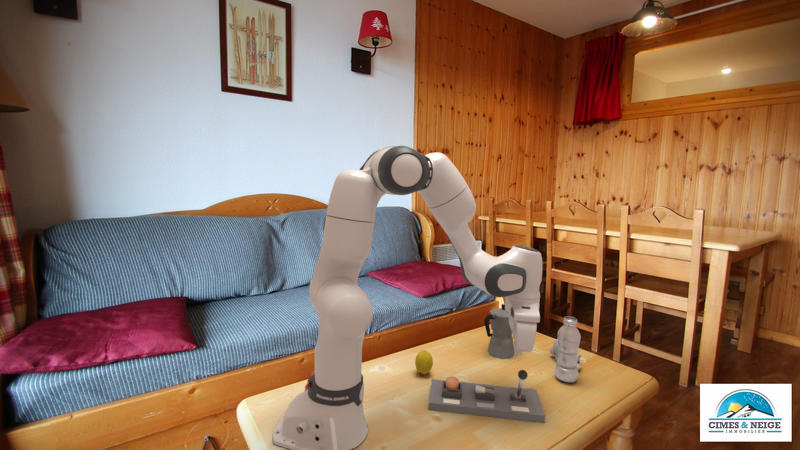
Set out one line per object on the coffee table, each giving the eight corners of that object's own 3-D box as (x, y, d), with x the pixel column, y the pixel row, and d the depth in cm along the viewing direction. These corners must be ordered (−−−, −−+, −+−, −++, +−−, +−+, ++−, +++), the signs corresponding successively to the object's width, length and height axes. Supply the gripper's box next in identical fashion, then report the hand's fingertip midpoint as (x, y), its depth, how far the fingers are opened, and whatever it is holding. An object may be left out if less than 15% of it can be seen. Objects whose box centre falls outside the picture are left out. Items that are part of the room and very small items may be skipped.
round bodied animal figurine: (565, 379, 125) (573, 361, 121) (545, 350, 135) (552, 333, 131) (584, 376, 127) (592, 358, 122) (563, 348, 137) (571, 331, 132)
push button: (445, 389, 106) (445, 382, 106) (445, 382, 110) (446, 375, 109) (458, 390, 106) (458, 384, 105) (458, 383, 109) (458, 377, 109)
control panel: (428, 409, 103) (428, 397, 103) (431, 385, 115) (432, 374, 114) (544, 422, 99) (545, 409, 98) (535, 396, 110) (536, 384, 110)
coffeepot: (503, 343, 144) (506, 297, 142) (523, 353, 136) (527, 305, 134) (473, 353, 136) (475, 304, 133) (492, 364, 128) (495, 313, 126)
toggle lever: (513, 401, 105) (519, 375, 98) (512, 393, 107) (518, 367, 100) (522, 402, 104) (528, 376, 98) (521, 394, 106) (527, 368, 99)
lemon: (431, 379, 118) (432, 355, 117) (413, 377, 119) (414, 353, 118) (433, 370, 123) (434, 347, 122) (416, 368, 124) (417, 345, 123)
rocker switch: (475, 392, 106) (476, 388, 106) (475, 388, 108) (475, 385, 108) (493, 397, 105) (494, 393, 105) (492, 392, 107) (493, 389, 107)
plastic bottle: (573, 388, 115) (578, 324, 112) (550, 379, 119) (555, 318, 117) (580, 379, 120) (585, 318, 117) (558, 372, 124) (563, 313, 121)
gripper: (505, 292, 115) (502, 336, 117) (515, 316, 95) (510, 369, 97) (527, 294, 114) (523, 338, 116) (541, 319, 94) (536, 372, 96)
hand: (517, 352), depth 106 cm, fingers closed
